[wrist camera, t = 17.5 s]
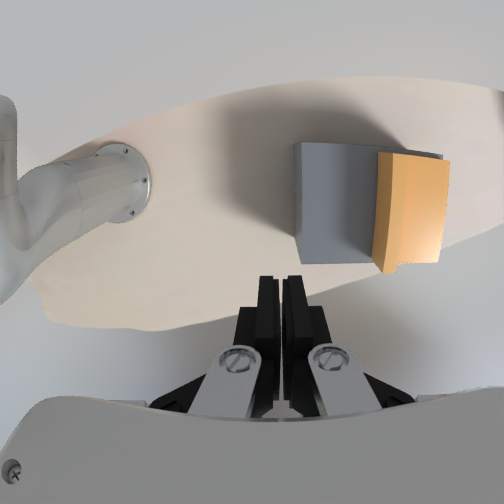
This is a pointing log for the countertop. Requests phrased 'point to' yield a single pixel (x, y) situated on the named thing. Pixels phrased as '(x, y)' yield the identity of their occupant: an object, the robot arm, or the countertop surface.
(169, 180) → the countertop surface
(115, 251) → the countertop surface
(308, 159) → the housing
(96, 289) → the countertop surface
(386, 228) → the cover
